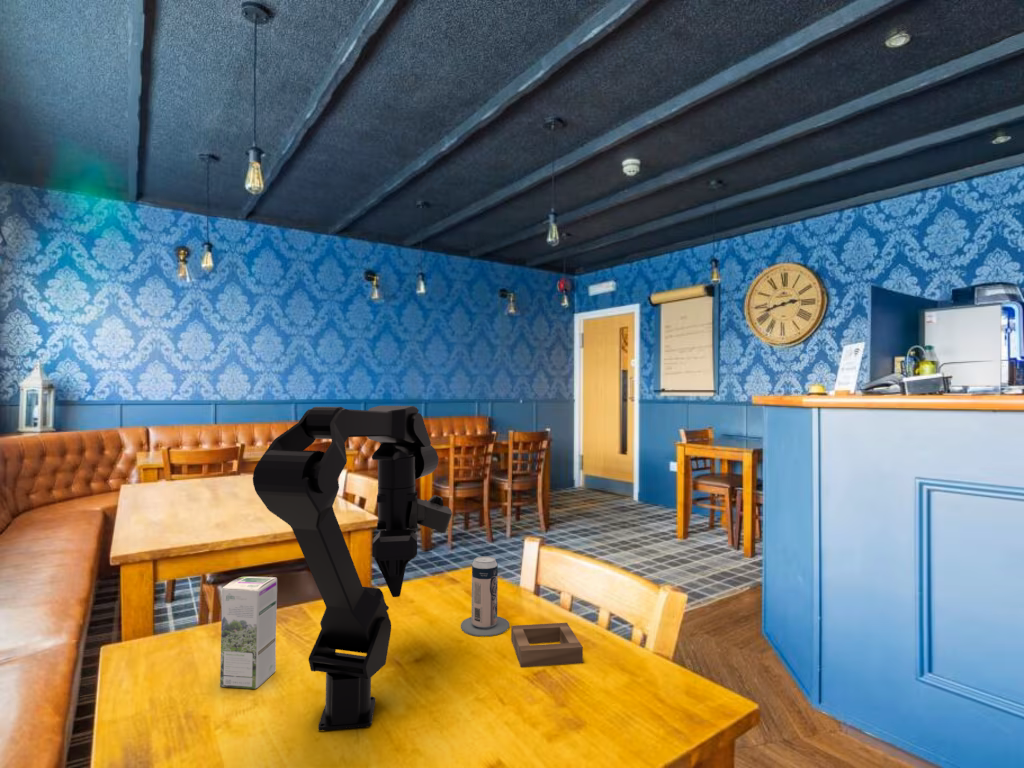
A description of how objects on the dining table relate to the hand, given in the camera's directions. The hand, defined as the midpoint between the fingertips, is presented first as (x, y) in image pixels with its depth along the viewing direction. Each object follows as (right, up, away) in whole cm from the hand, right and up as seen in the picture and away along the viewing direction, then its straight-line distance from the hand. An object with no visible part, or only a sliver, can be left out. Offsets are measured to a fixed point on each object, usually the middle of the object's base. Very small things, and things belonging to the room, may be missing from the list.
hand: (397, 585), depth 86 cm
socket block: (+23, -13, +6) cm, 28 cm away
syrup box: (-21, -13, -4) cm, 25 cm away
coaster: (+13, -13, +16) cm, 25 cm away
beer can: (+13, -13, +16) cm, 24 cm away
